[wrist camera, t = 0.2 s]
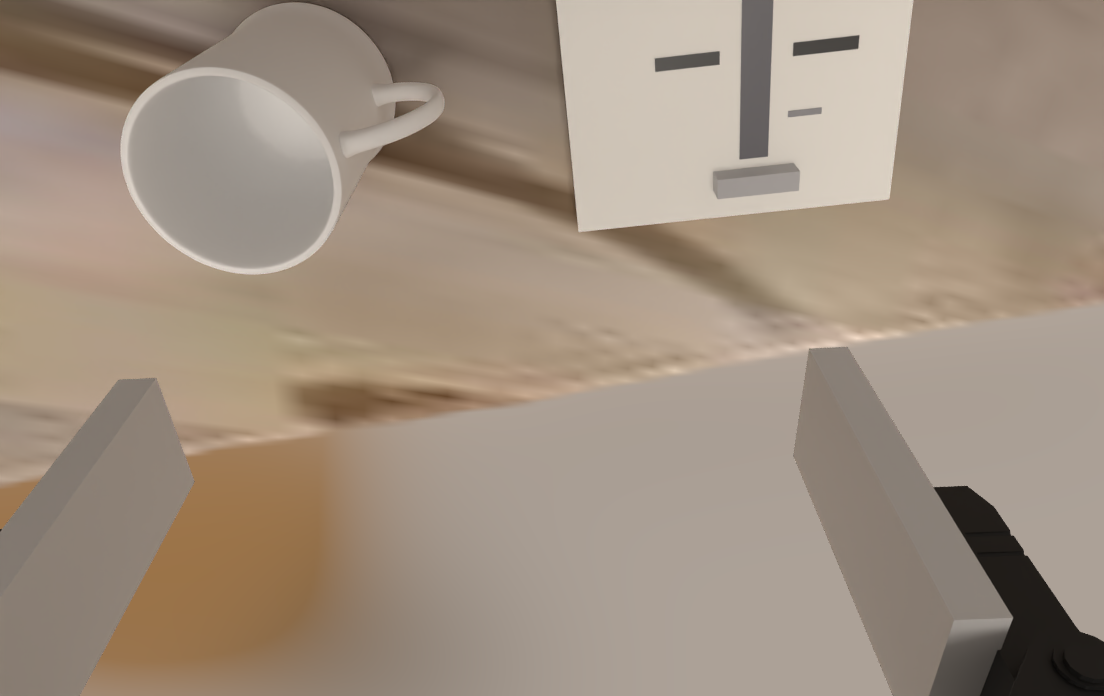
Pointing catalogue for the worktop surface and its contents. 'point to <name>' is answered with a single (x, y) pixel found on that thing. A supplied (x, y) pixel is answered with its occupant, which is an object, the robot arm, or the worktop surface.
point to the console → (729, 105)
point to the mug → (265, 138)
